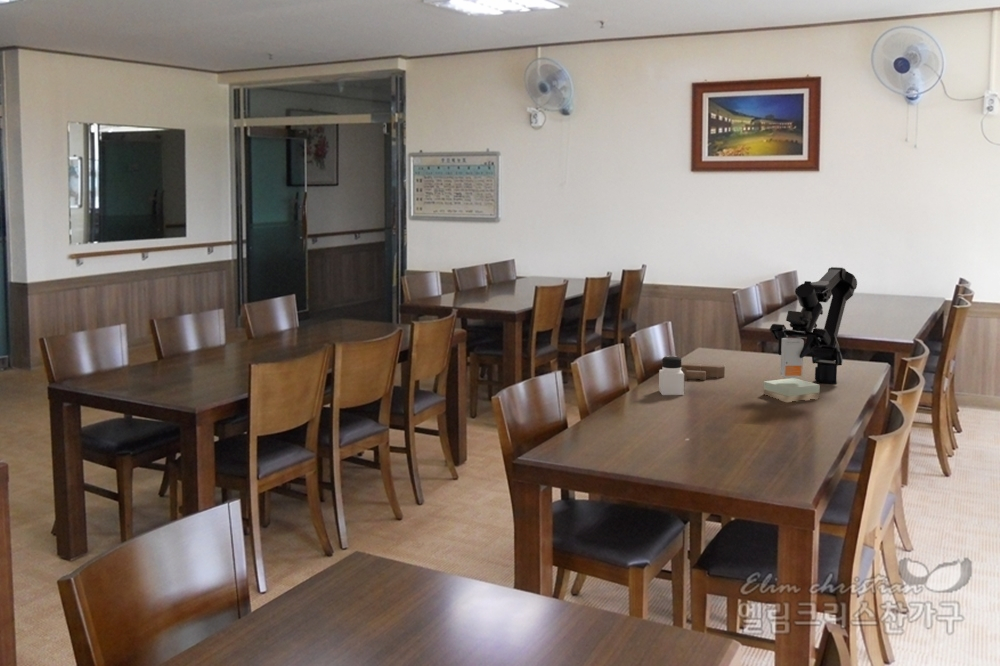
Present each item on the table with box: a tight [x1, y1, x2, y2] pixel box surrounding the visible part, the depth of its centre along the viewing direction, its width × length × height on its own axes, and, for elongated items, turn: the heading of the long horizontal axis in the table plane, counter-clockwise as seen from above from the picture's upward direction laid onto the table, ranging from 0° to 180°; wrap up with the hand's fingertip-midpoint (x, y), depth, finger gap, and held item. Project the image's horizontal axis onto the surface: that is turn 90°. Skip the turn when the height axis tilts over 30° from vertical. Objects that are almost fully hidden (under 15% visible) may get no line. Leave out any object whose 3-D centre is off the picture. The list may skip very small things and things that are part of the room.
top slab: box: [763, 377, 821, 396], centre depth 297 cm, size 12×12×2 cm
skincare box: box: [779, 337, 805, 378], centre depth 296 cm, size 6×4×12 cm
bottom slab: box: [763, 388, 820, 403], centre depth 298 cm, size 12×12×2 cm
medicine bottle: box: [658, 355, 685, 396], centre depth 304 cm, size 7×7×12 cm
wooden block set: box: [681, 362, 726, 382], centre depth 325 cm, size 17×6×18 cm
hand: (789, 355), depth 295 cm, fingers closed on skincare box, 7 cm apart
